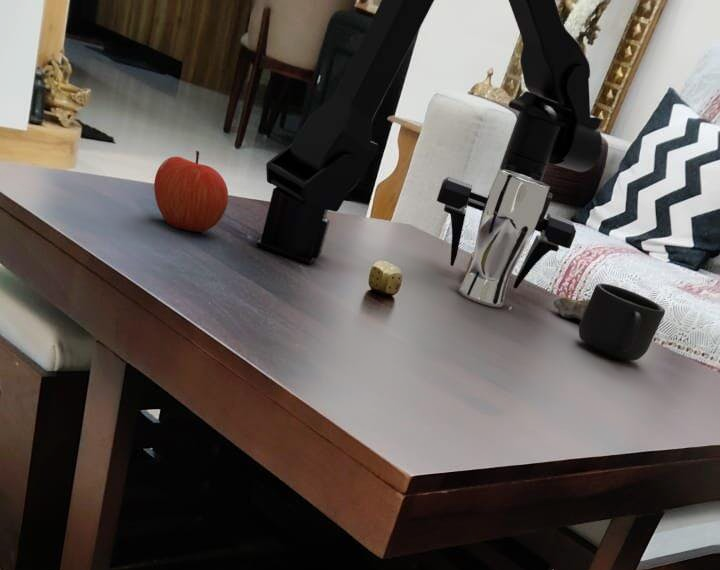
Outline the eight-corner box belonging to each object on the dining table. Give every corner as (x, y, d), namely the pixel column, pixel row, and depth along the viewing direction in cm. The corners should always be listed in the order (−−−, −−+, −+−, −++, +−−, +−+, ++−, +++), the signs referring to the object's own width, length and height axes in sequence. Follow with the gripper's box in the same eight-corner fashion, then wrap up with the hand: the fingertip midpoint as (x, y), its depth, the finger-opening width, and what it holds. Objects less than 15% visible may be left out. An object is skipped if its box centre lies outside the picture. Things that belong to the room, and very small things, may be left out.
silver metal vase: (503, 313, 125) (551, 189, 117) (452, 293, 125) (496, 169, 117) (507, 303, 131) (552, 185, 123) (457, 284, 131) (499, 165, 123)
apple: (150, 227, 106) (165, 147, 102) (146, 209, 112) (159, 133, 108) (223, 246, 109) (240, 170, 105) (215, 227, 115) (231, 154, 111)
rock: (631, 337, 138) (577, 296, 141) (652, 301, 134) (596, 260, 136) (598, 354, 133) (543, 311, 136) (619, 317, 128) (562, 273, 131)
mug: (567, 331, 128) (591, 277, 124) (632, 353, 129) (656, 299, 125) (582, 358, 117) (608, 299, 114) (652, 381, 119) (679, 324, 115)
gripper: (457, 136, 121) (415, 264, 129) (600, 188, 122) (549, 312, 130) (459, 130, 130) (420, 250, 138) (592, 179, 131) (545, 294, 139)
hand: (483, 276), depth 136 cm, fingers open, 9 cm apart
